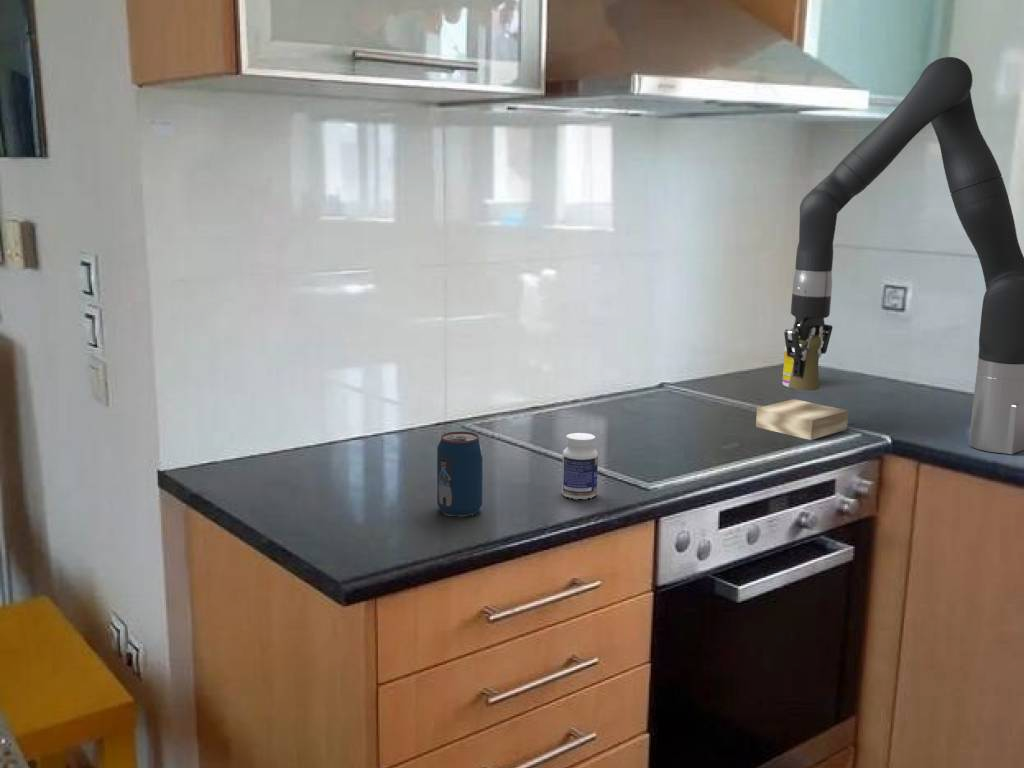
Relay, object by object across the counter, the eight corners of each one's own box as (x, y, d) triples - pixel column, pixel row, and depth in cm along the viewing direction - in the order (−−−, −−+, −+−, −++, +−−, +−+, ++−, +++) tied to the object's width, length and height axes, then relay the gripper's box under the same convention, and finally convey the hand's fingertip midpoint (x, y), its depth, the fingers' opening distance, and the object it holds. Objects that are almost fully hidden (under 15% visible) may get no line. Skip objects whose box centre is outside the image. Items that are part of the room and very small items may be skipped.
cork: (825, 389, 209) (830, 335, 207) (800, 391, 207) (805, 337, 205) (806, 383, 215) (811, 330, 213) (782, 385, 213) (786, 332, 210)
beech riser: (846, 429, 212) (848, 410, 211) (810, 440, 204) (812, 420, 203) (792, 417, 222) (793, 399, 221) (755, 426, 213) (757, 407, 213)
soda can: (486, 505, 163) (486, 431, 161) (477, 520, 157) (477, 443, 154) (442, 502, 164) (442, 429, 162) (432, 517, 158) (432, 440, 155)
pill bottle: (602, 499, 167) (603, 439, 165) (568, 502, 165) (570, 441, 163) (589, 488, 172) (591, 430, 170) (556, 491, 171) (558, 432, 169)
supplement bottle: (805, 390, 248) (809, 337, 245) (778, 387, 251) (781, 334, 249) (814, 385, 253) (817, 333, 251) (787, 382, 257) (791, 331, 254)
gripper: (807, 297, 200) (800, 384, 203) (848, 292, 209) (840, 375, 212) (774, 293, 205) (768, 378, 209) (815, 288, 214) (809, 369, 218)
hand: (805, 376), depth 211 cm, fingers closed on cork, 4 cm apart
